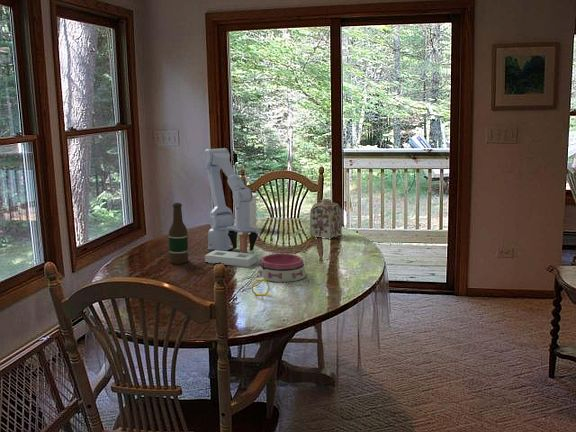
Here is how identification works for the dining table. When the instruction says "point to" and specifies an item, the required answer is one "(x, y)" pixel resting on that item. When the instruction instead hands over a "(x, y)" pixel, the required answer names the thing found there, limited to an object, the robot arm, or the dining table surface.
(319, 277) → the dining table surface
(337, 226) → the decorative jar
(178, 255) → the beer bottle
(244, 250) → the peg
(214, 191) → the robot arm
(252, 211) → the decorative container
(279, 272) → the dog bowl
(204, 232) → the dining table surface
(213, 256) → the hole block
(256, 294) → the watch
